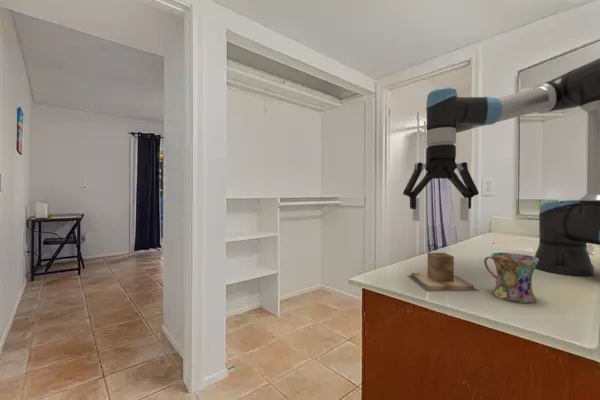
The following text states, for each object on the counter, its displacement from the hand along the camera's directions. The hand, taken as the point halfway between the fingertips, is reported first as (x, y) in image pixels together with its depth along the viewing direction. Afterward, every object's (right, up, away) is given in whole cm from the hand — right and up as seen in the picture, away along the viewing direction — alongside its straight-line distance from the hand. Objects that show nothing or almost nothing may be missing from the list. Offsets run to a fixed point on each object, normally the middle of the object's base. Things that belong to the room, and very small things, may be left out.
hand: (440, 220), depth 80 cm
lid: (0, -18, 0) cm, 18 cm away
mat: (0, -18, 0) cm, 18 cm away
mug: (+12, -19, -10) cm, 24 cm away
